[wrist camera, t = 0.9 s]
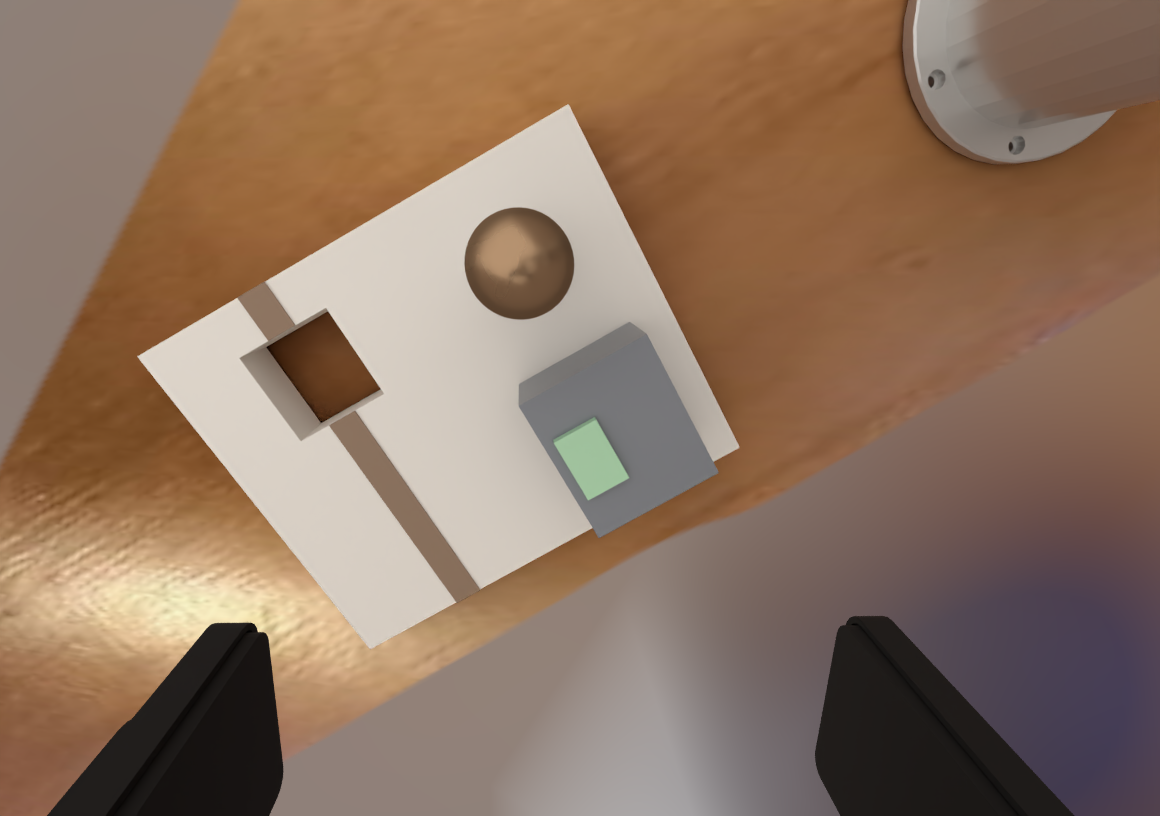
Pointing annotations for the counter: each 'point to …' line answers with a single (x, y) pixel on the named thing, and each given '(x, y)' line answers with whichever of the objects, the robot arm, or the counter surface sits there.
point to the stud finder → (616, 428)
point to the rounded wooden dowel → (519, 263)
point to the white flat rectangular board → (426, 386)
